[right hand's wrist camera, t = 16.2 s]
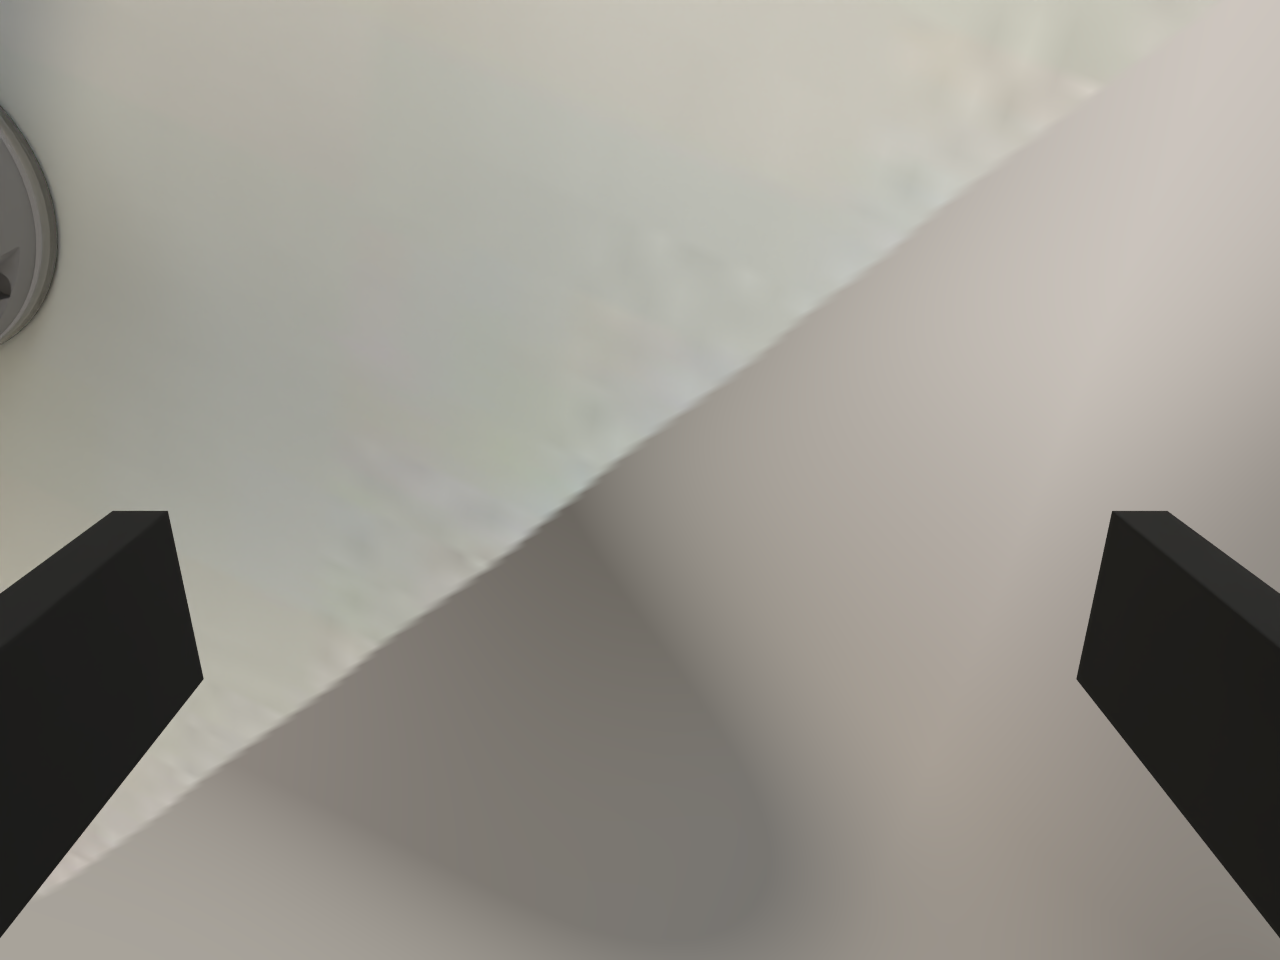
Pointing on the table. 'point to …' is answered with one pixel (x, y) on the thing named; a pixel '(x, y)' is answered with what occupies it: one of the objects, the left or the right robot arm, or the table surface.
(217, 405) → the table surface
